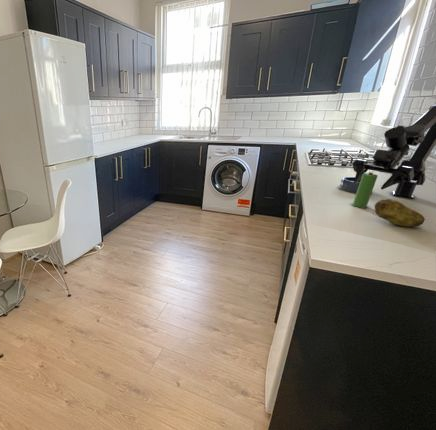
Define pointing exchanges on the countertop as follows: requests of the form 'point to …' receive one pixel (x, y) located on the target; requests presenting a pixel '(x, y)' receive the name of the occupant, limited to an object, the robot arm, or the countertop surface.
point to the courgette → (365, 190)
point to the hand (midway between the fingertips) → (367, 185)
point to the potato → (398, 213)
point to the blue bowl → (349, 184)
